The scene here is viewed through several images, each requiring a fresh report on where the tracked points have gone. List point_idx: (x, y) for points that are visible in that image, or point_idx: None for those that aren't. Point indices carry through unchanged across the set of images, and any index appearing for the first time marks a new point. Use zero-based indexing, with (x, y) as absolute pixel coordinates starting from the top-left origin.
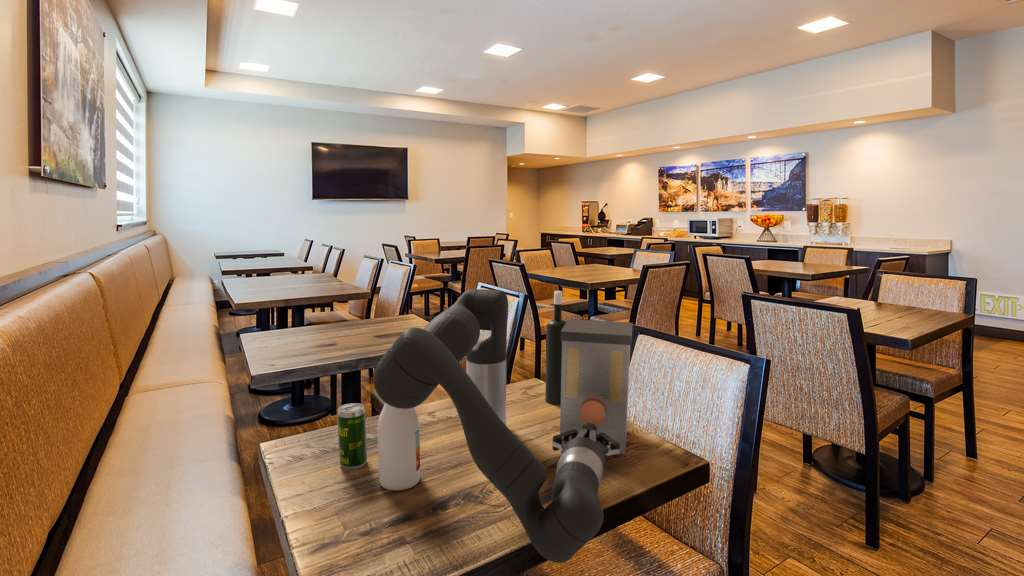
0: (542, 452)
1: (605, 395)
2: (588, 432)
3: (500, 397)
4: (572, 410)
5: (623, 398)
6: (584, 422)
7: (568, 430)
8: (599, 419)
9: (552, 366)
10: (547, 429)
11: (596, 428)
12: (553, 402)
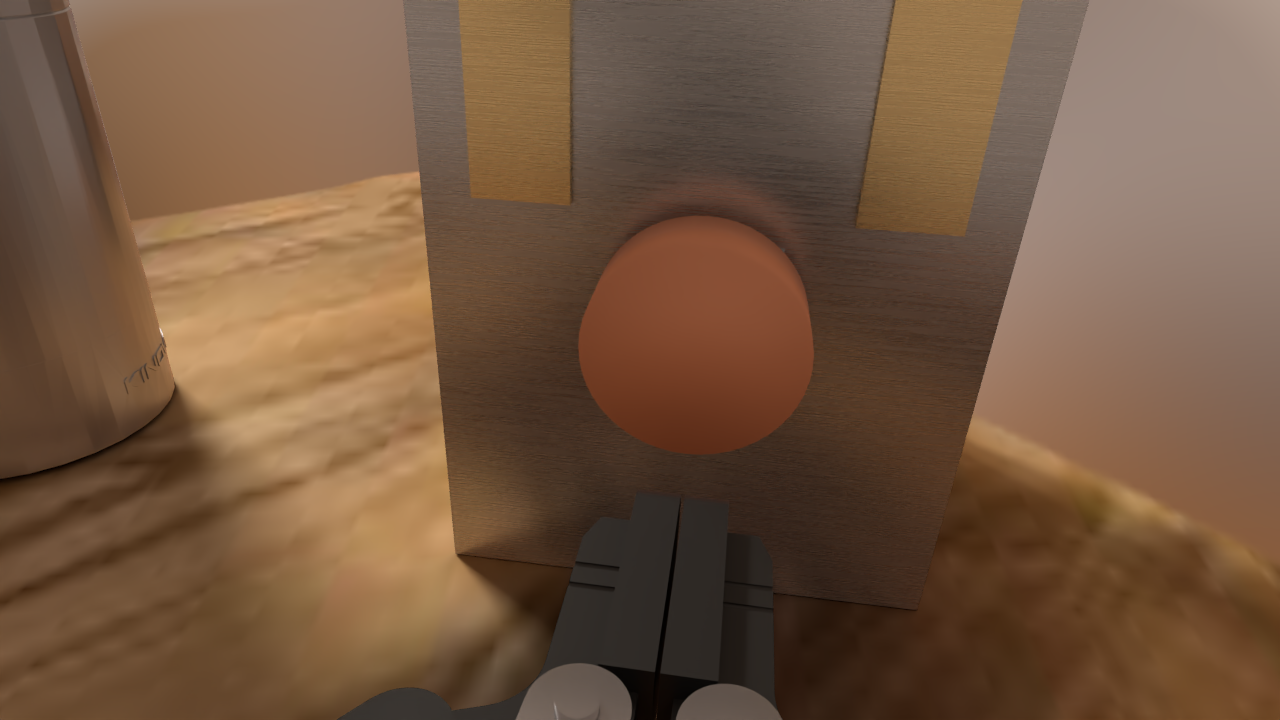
0: (302, 625)
1: (825, 172)
2: (654, 690)
3: (6, 209)
4: (529, 307)
5: (994, 198)
6: (624, 416)
7: (508, 453)
8: (762, 394)
9: None
10: (426, 399)
11: (767, 587)
12: None
